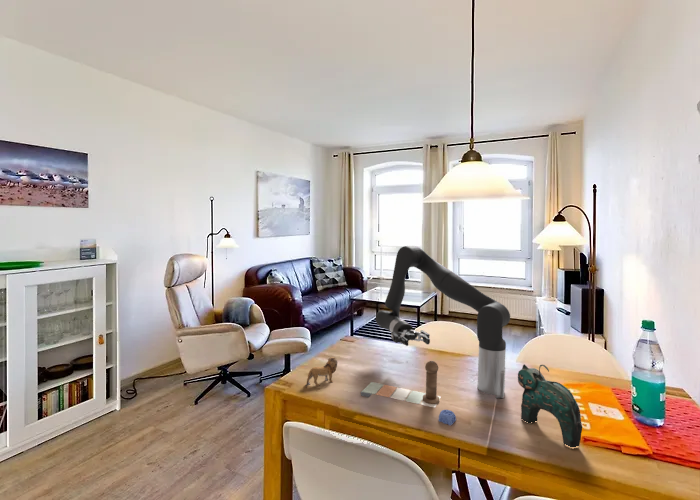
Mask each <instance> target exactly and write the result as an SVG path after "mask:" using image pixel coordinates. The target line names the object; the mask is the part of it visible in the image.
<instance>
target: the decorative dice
mask: <svg viewBox="0 0 700 500" xmlns="http://www.w3.org/2000/svg"><path fill="white" fill-rule="evenodd" d="M456 421H457V416H456V414H455V413H454V411H452V410H449V409H442V410H441V411H440V412H439V415H438V422H440V423H442V424H445V425H448V426H452V425H453V424H454V423H455V422H456Z"/></svg>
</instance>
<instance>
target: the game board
mask: <svg viewBox="0 0 700 500" xmlns="http://www.w3.org/2000/svg"><path fill="white" fill-rule="evenodd" d="M425 394H426V392H421V391H417V390H411V389H408V388H402V387H397V386H392V385H388V384H384V383H378V382H374V381H370V382H369V384H368V385H366V387H365V388H363V390H362V391H360V395H361V396H362V397H366V398H370V397H371V396H372V395H376V396H381V397H384V398H391V399H395V400H398V401H405V402H408V403H412V404H417V405H421V406H425V407H430V408H434V409H435V408H436V407H437V405H438V403H437V404H428V403H425V402H424V401H423V395H425ZM437 396H438V397H439V401H440V399H441V397H442V396H440V395H437Z"/></svg>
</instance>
